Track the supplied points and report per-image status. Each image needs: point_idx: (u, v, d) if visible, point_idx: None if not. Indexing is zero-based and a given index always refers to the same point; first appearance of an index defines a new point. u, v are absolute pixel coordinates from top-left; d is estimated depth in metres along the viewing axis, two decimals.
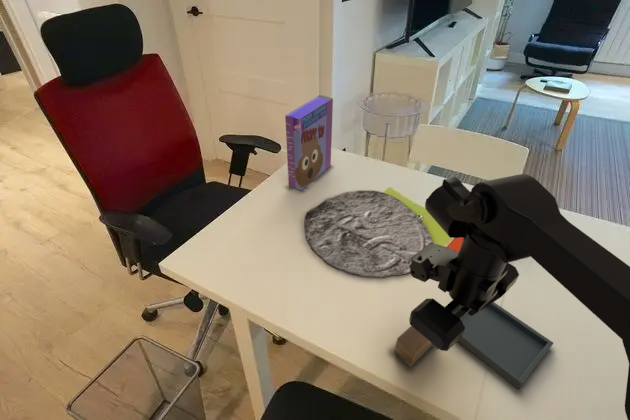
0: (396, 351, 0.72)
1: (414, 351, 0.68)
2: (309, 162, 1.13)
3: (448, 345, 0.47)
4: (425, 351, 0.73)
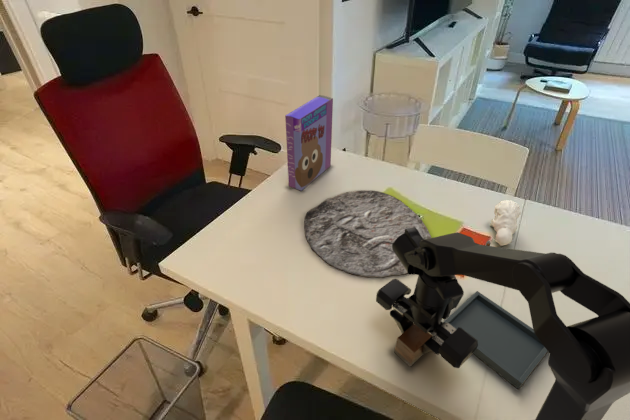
0: (396, 351, 0.72)
1: (414, 351, 0.68)
2: (309, 162, 1.13)
3: (376, 297, 0.72)
4: None
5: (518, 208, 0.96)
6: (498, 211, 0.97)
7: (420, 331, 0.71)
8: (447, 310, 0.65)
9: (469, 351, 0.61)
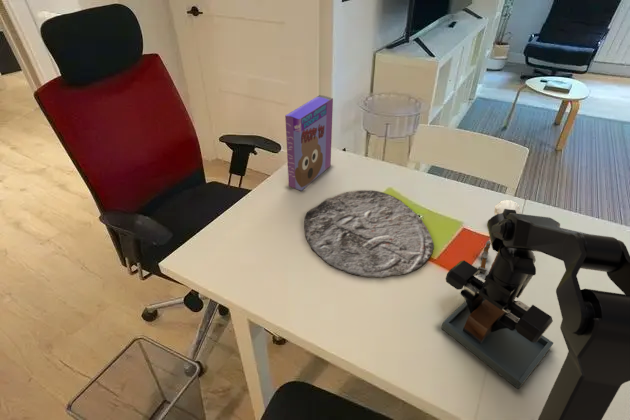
0: (465, 329, 0.75)
1: (487, 328, 0.71)
2: (309, 162, 1.13)
3: (447, 277, 0.75)
4: None
5: (518, 208, 0.96)
6: (498, 211, 0.97)
7: (489, 310, 0.74)
8: (521, 288, 0.68)
9: (546, 326, 0.65)
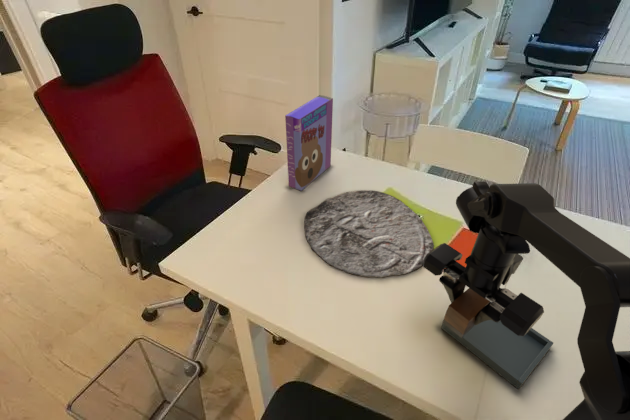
0: (445, 321, 0.66)
1: (468, 319, 0.61)
2: (309, 162, 1.13)
3: (424, 261, 0.65)
4: None
5: None
6: None
7: (473, 299, 0.64)
8: (508, 274, 0.59)
9: (536, 317, 0.55)
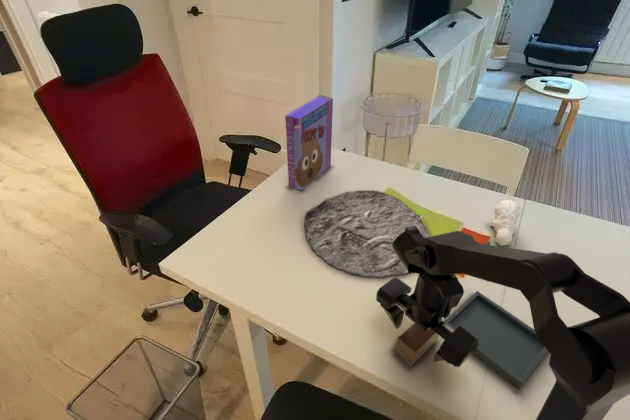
0: (396, 351, 0.72)
1: (414, 351, 0.68)
2: (309, 162, 1.13)
3: (377, 295, 0.71)
4: (425, 351, 0.73)
5: (518, 208, 0.96)
6: (498, 211, 0.97)
7: (420, 331, 0.71)
8: (447, 309, 0.65)
9: (469, 350, 0.61)
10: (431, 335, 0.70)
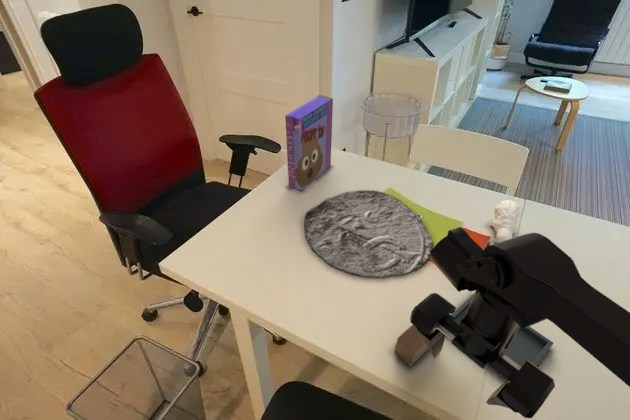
0: (396, 351, 0.72)
1: (414, 351, 0.68)
2: (309, 162, 1.13)
3: (412, 317, 0.55)
4: (425, 351, 0.73)
5: (518, 208, 0.96)
6: (498, 211, 0.97)
7: None
8: (510, 337, 0.49)
9: (546, 395, 0.45)
10: None
